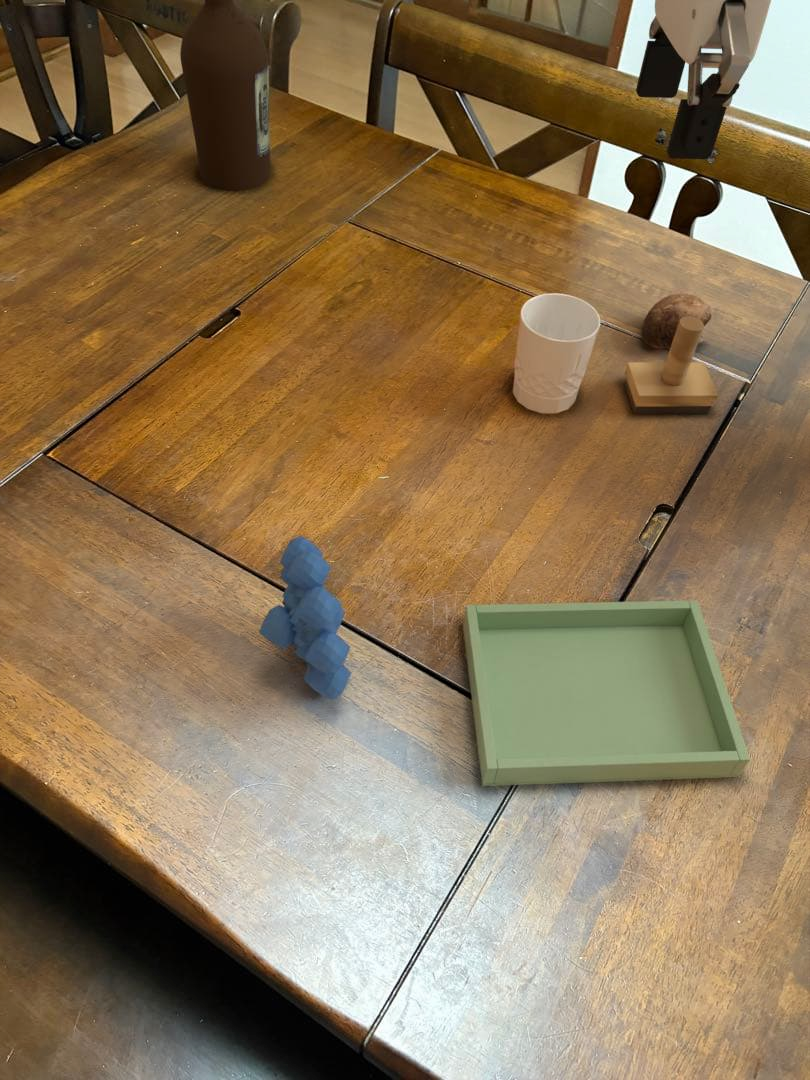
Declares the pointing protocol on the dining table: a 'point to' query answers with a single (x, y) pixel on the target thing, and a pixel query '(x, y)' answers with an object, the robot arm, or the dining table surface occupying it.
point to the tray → (598, 693)
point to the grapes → (310, 619)
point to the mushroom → (672, 318)
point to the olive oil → (228, 96)
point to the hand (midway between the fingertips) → (670, 125)
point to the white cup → (553, 351)
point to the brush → (673, 378)
